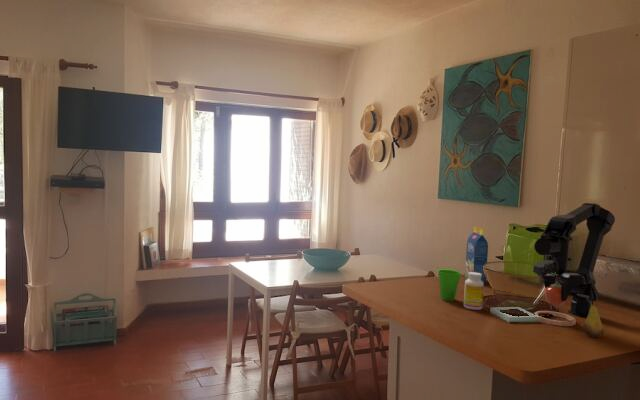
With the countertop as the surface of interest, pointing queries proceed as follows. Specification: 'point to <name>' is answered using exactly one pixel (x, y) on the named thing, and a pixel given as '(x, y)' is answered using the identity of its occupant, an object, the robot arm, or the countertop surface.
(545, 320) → the saucer ring
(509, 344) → the countertop surface
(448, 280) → the cup
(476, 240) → the blue food package
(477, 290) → the supplement bottle
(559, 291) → the tomato
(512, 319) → the tray
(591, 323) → the fruit
